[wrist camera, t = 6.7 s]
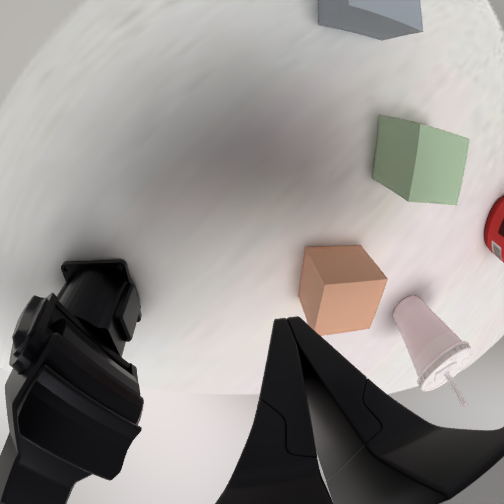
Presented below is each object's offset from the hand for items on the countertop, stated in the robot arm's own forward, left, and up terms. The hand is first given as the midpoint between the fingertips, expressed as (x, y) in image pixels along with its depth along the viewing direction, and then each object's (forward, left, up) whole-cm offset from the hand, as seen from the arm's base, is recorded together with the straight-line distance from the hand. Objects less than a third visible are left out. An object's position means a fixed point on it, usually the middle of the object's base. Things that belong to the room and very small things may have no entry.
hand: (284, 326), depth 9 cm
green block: (+12, +4, -12) cm, 17 cm away
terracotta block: (+7, -6, -12) cm, 15 cm away
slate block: (+7, +16, -12) cm, 21 cm away
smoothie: (+18, -12, -12) cm, 25 cm away
